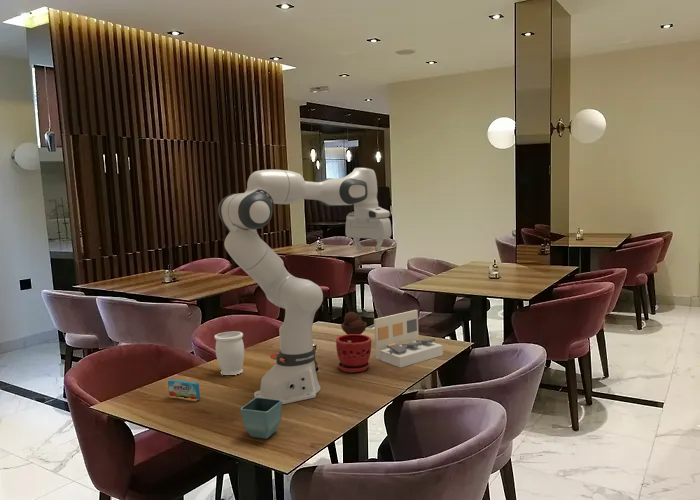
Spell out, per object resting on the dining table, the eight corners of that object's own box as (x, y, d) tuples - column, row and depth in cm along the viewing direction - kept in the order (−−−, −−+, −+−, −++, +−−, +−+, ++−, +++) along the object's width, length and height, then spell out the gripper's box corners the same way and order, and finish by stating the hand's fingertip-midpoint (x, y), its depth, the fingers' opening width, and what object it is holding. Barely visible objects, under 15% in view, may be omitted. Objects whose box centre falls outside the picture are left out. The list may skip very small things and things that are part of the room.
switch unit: (400, 367, 208) (398, 325, 206) (375, 358, 220) (373, 319, 218) (442, 355, 220) (441, 315, 218) (417, 347, 232) (415, 309, 231)
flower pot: (269, 443, 151) (267, 411, 150) (241, 439, 155) (239, 408, 153) (284, 429, 159) (282, 399, 158) (258, 426, 163) (255, 396, 162)
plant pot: (351, 377, 200) (349, 344, 199) (330, 368, 211) (329, 338, 209) (379, 368, 208) (378, 337, 206) (358, 361, 218) (356, 331, 217)
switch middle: (413, 346, 214) (413, 344, 214) (402, 346, 220) (401, 343, 220) (421, 344, 217) (420, 342, 217) (409, 344, 222) (409, 341, 222)
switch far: (427, 342, 219) (427, 340, 219) (416, 342, 224) (415, 340, 224) (435, 340, 221) (434, 338, 221) (423, 340, 227) (423, 338, 227)
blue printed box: (169, 398, 189) (167, 380, 189) (172, 396, 191) (170, 379, 190) (197, 402, 184) (195, 384, 184) (200, 400, 186) (198, 382, 185)
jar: (212, 376, 209) (209, 337, 207) (226, 367, 218) (223, 330, 217) (237, 378, 205) (234, 338, 204) (250, 369, 215) (247, 331, 213)
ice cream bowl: (368, 348, 235) (366, 313, 233) (341, 349, 235) (339, 314, 233) (367, 341, 245) (366, 308, 243) (342, 342, 245) (340, 309, 244)
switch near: (398, 353, 210) (398, 351, 210) (386, 347, 216) (387, 344, 215) (406, 351, 213) (406, 349, 212) (394, 344, 218) (394, 342, 218)
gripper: (340, 213, 207) (342, 250, 209) (381, 213, 192) (383, 252, 194) (352, 212, 211) (354, 248, 213) (393, 211, 197) (395, 250, 198)
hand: (368, 250), depth 203 cm, fingers open, 8 cm apart
